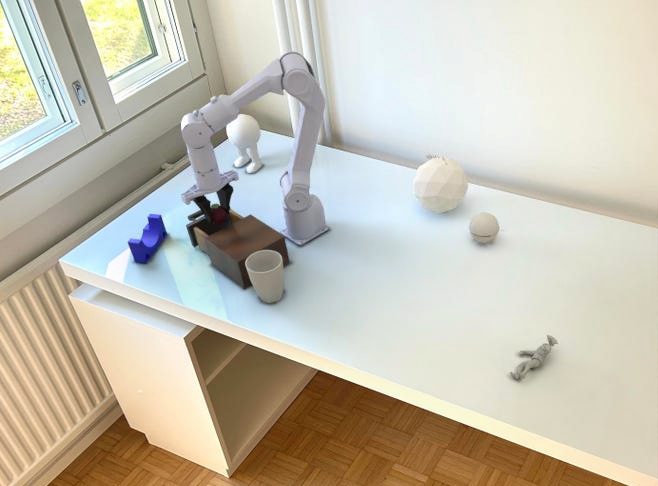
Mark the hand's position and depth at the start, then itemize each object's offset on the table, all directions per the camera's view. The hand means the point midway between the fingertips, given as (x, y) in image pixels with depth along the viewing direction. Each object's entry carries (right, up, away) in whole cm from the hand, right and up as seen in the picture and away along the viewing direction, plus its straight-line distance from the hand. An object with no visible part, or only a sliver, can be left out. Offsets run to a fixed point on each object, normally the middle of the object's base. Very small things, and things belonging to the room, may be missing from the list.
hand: (218, 216), depth 177 cm
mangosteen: (0, -1, +1) cm, 1 cm away
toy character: (0, +21, +33) cm, 40 cm away
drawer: (-1, -5, +7) cm, 8 cm away
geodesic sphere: (+54, +5, +16) cm, 57 cm away
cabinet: (+8, -11, +1) cm, 14 cm away
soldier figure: (+72, -36, -26) cm, 84 cm away
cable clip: (-19, -7, +7) cm, 22 cm away
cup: (+14, -20, -7) cm, 26 cm away
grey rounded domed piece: (+66, -5, +5) cm, 66 cm away
